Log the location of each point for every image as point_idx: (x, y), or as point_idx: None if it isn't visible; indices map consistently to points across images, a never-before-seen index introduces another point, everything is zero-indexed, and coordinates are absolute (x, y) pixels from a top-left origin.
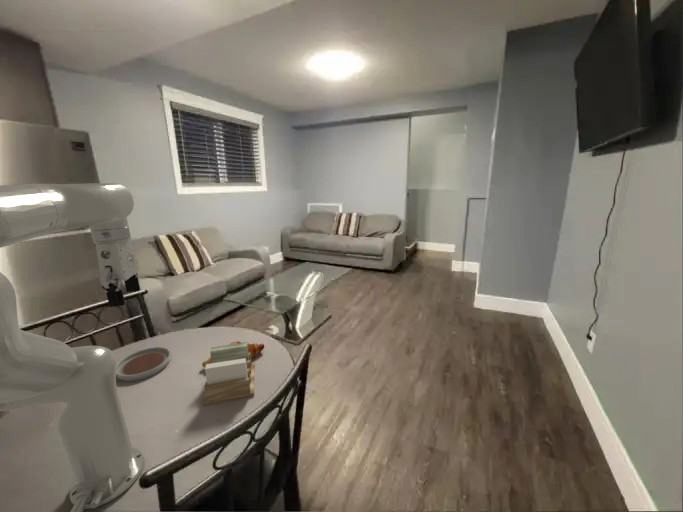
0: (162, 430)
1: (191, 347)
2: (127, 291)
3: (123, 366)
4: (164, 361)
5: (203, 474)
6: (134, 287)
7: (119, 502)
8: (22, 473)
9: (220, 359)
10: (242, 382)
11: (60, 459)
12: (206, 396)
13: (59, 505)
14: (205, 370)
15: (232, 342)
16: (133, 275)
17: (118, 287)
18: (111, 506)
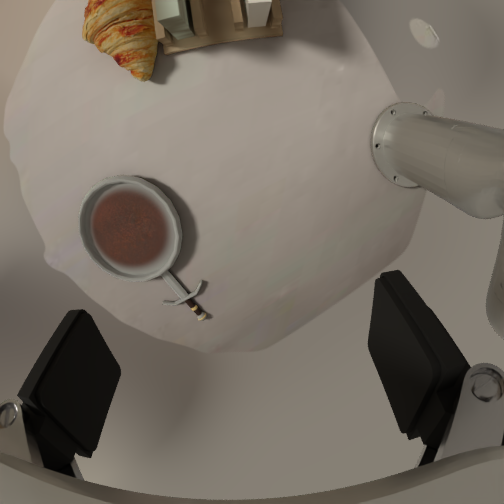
0: (336, 94)
1: (66, 156)
2: (119, 370)
3: (139, 267)
4: (129, 181)
5: (419, 22)
6: (87, 353)
7: None
8: (367, 266)
9: (183, 4)
10: None
11: (359, 233)
12: (279, 24)
13: None
14: (271, 2)
15: (86, 28)
16: (35, 435)
17: (475, 404)
18: None
